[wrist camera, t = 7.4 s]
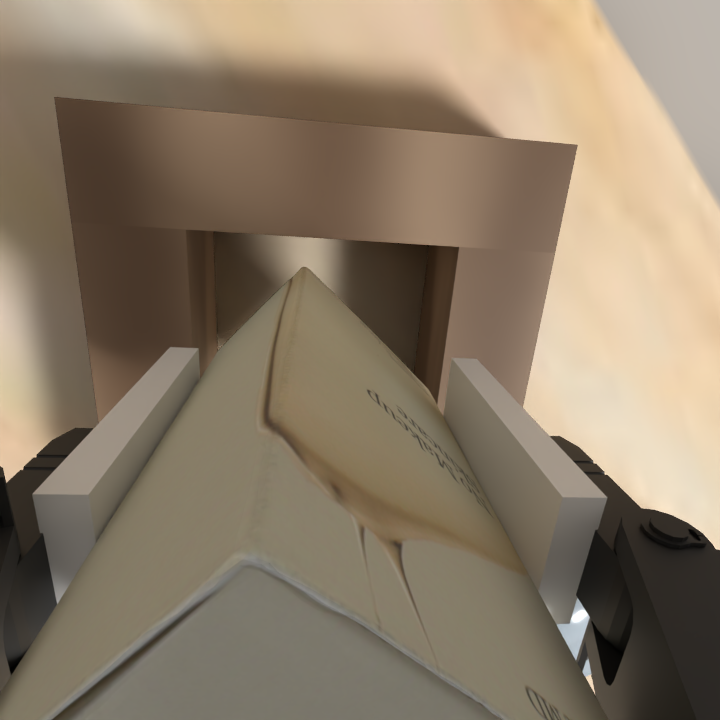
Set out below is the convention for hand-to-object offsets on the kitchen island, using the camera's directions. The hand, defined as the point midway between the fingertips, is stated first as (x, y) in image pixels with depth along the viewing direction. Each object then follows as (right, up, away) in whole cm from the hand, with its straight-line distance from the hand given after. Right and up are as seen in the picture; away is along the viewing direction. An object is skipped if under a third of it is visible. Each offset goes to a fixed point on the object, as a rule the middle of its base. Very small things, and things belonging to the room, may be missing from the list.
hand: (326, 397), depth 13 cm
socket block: (-1, +2, +6) cm, 7 cm away
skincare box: (0, +1, +2) cm, 2 cm away
